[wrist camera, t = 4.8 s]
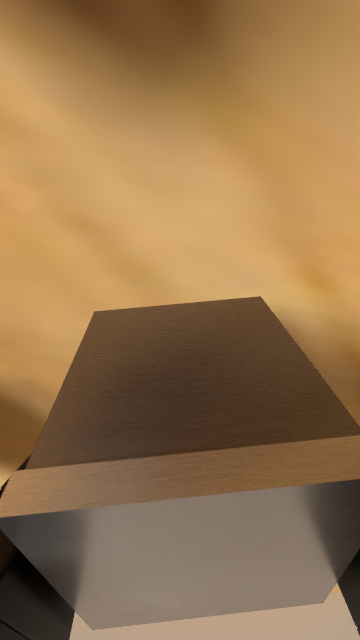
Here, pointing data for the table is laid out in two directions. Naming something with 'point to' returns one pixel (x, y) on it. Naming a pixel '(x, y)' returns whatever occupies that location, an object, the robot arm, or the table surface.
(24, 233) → the table surface
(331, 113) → the table surface
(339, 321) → the table surface
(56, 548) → the tin
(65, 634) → the robot arm
